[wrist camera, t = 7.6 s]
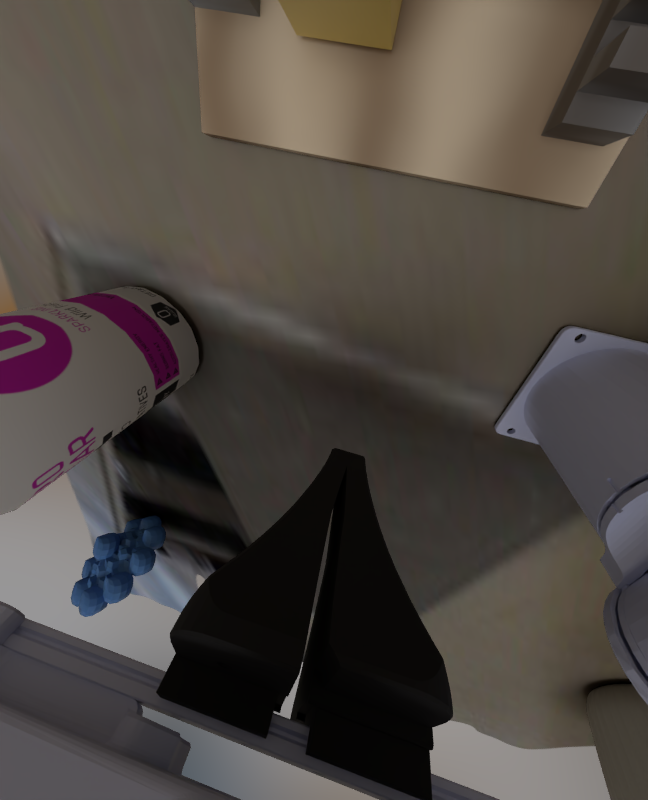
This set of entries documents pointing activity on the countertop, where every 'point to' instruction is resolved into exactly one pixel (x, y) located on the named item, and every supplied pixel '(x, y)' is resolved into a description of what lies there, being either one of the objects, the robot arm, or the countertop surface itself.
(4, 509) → the supplement can
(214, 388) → the countertop surface
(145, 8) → the countertop surface
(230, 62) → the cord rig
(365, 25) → the sleeve
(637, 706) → the canister
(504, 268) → the countertop surface
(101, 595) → the grapes
